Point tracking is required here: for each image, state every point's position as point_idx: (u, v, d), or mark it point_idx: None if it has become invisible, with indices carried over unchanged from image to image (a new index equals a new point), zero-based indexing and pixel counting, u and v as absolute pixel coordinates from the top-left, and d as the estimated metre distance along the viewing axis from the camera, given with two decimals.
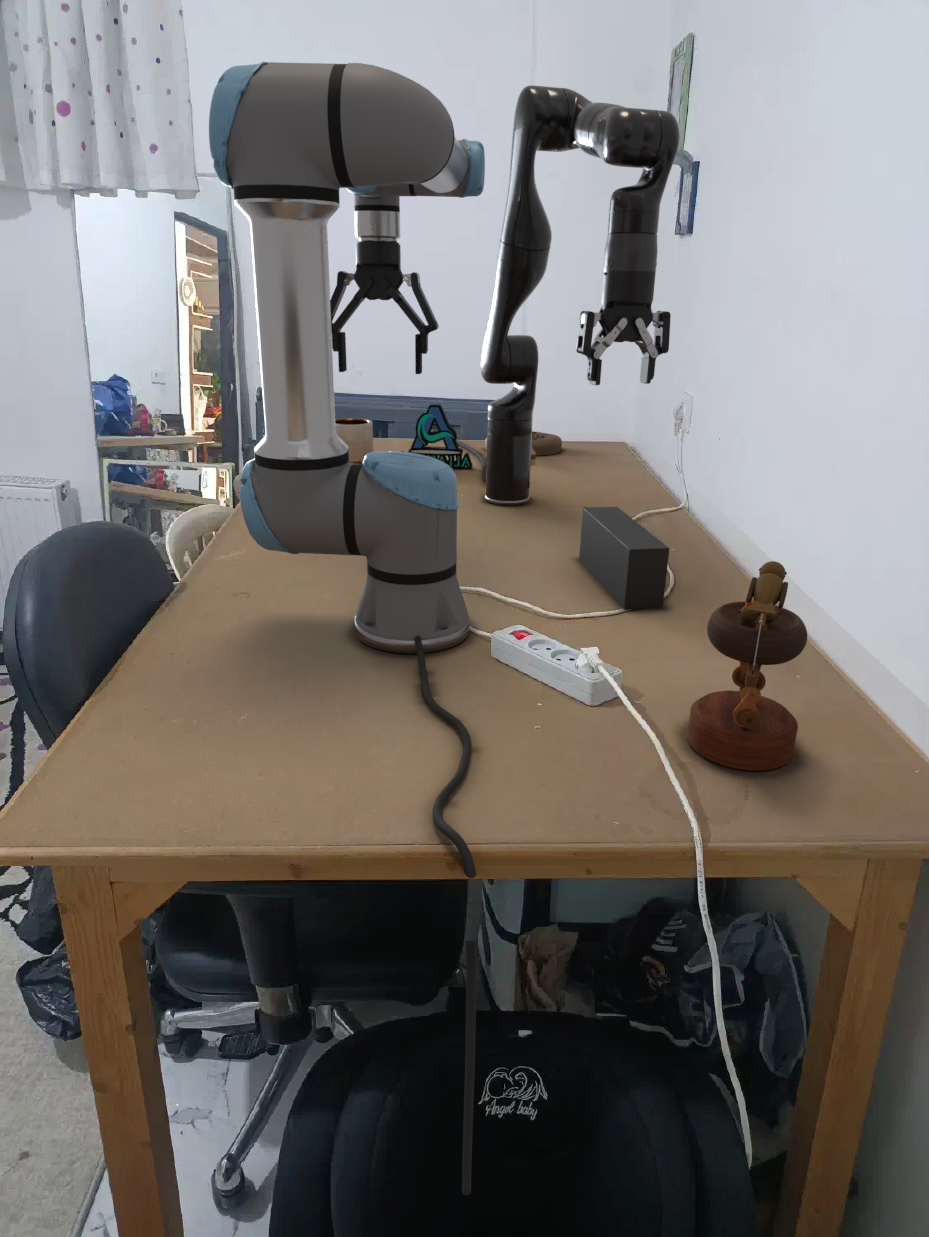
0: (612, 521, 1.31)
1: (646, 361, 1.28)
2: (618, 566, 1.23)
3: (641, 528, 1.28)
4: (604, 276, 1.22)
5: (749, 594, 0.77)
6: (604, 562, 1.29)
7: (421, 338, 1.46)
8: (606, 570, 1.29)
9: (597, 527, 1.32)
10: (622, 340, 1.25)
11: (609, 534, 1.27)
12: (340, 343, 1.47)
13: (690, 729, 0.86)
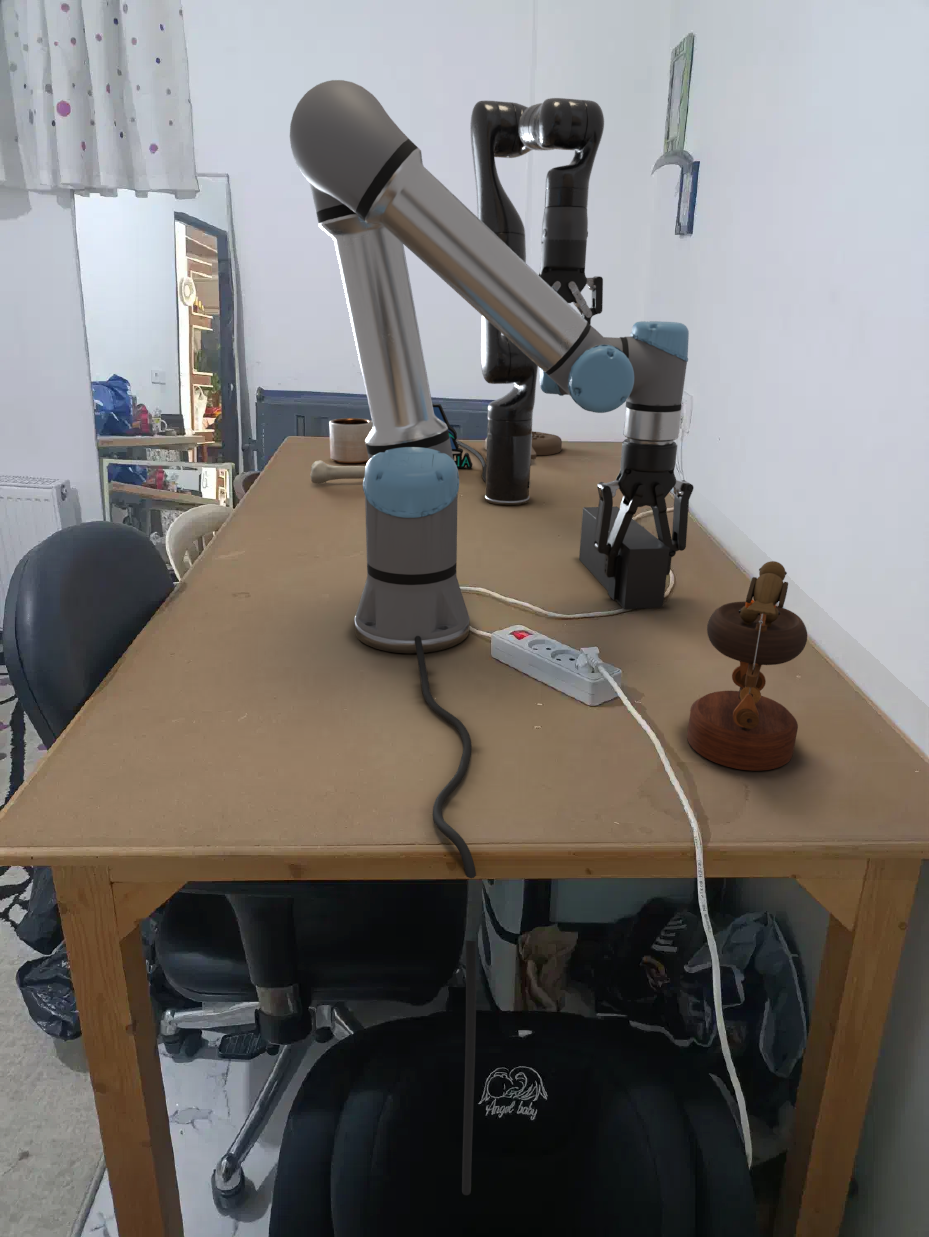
0: (613, 521, 1.31)
1: None
2: None
3: (641, 528, 1.28)
4: (541, 245, 1.41)
5: (749, 594, 0.77)
6: (604, 562, 1.29)
7: None
8: None
9: None
10: None
11: (609, 534, 1.27)
12: (619, 569, 1.22)
13: (690, 729, 0.86)
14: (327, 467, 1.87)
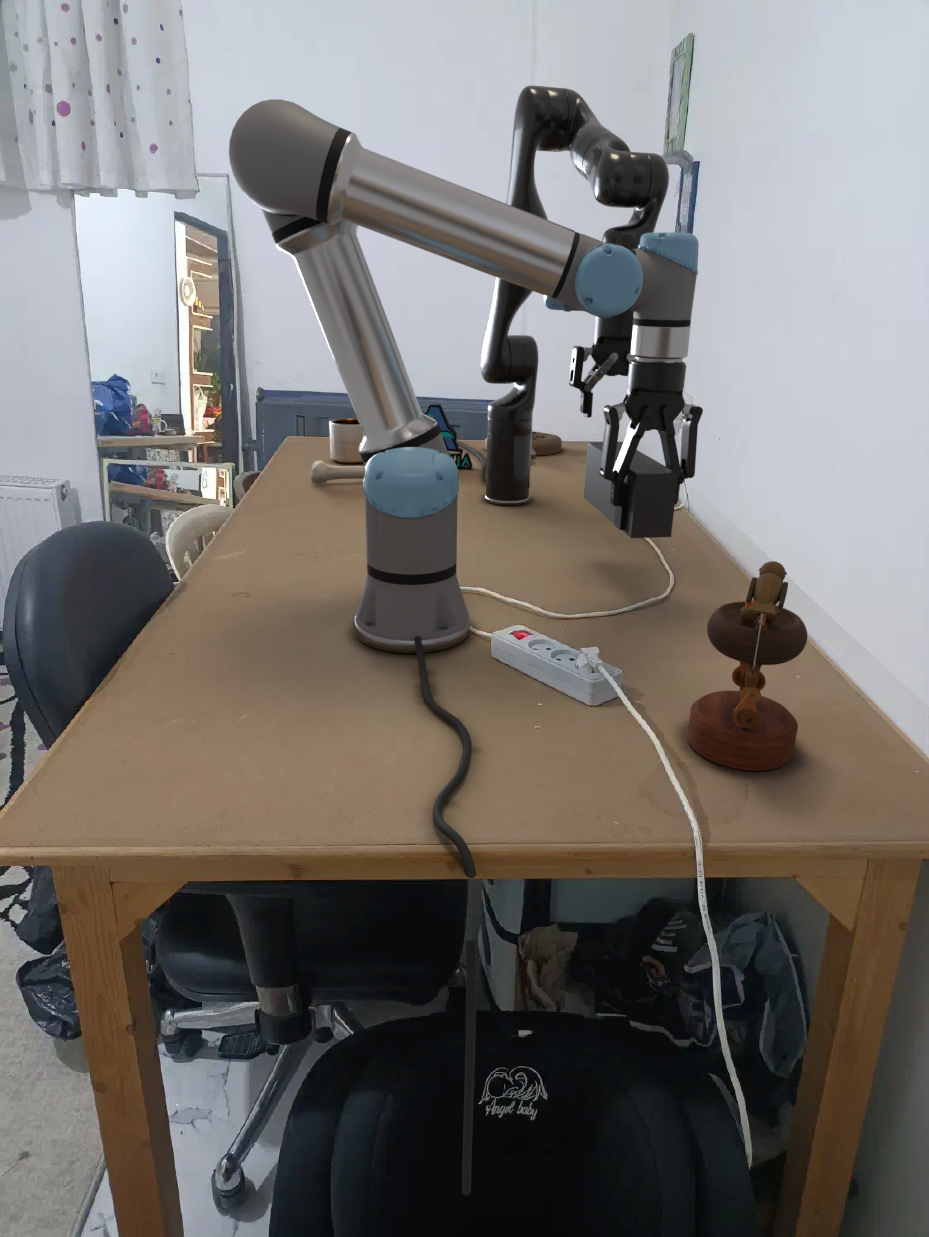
0: None
1: None
2: None
3: (648, 458, 1.24)
4: None
5: (749, 594, 0.77)
6: None
7: None
8: None
9: None
10: (614, 374, 1.27)
11: None
12: (626, 497, 1.18)
13: (690, 729, 0.86)
14: (327, 467, 1.87)
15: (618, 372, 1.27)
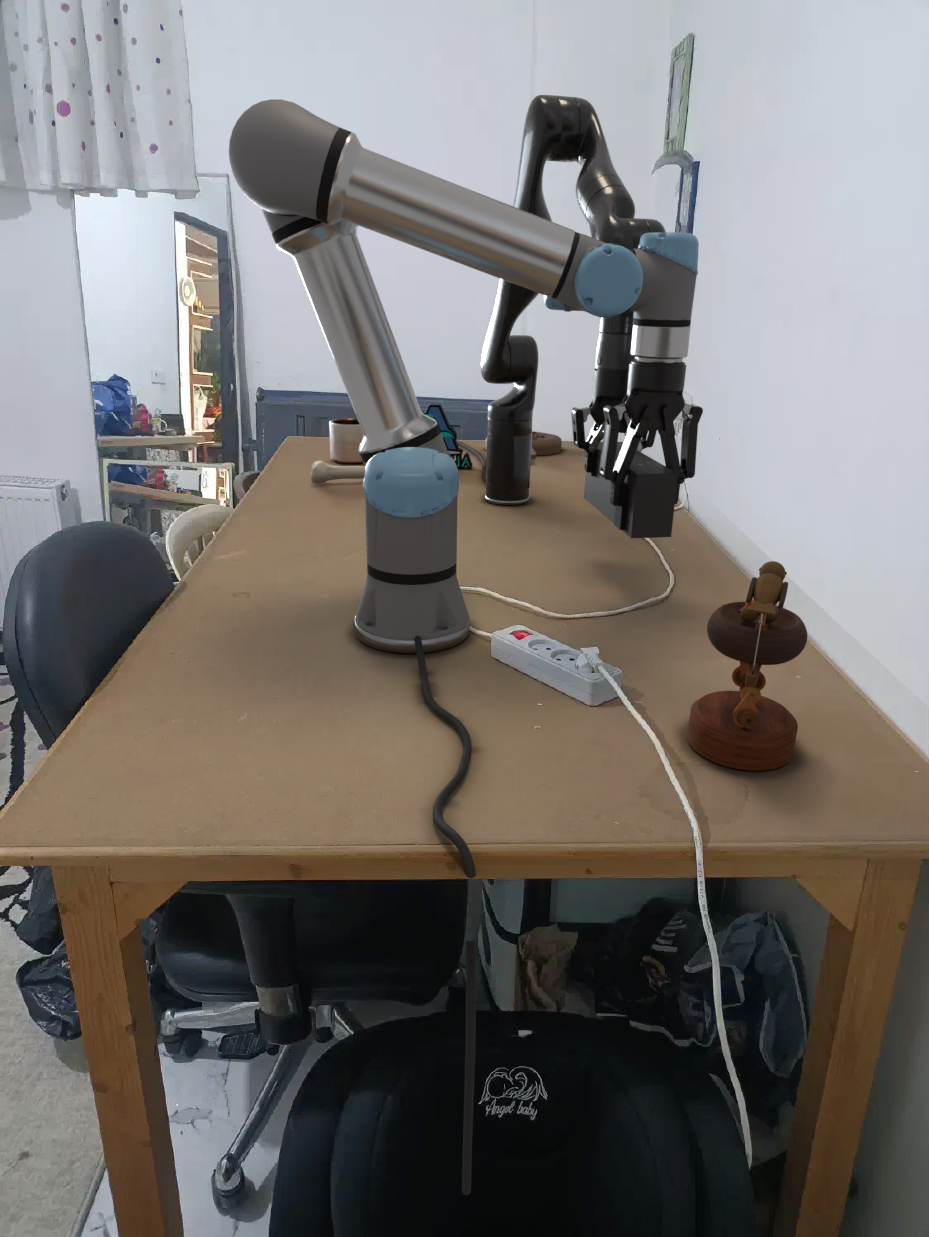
0: None
1: None
2: None
3: (648, 458, 1.24)
4: (594, 371, 1.27)
5: (749, 594, 0.77)
6: None
7: None
8: None
9: None
10: None
11: None
12: (626, 496, 1.18)
13: (690, 729, 0.86)
14: (327, 467, 1.87)
15: None
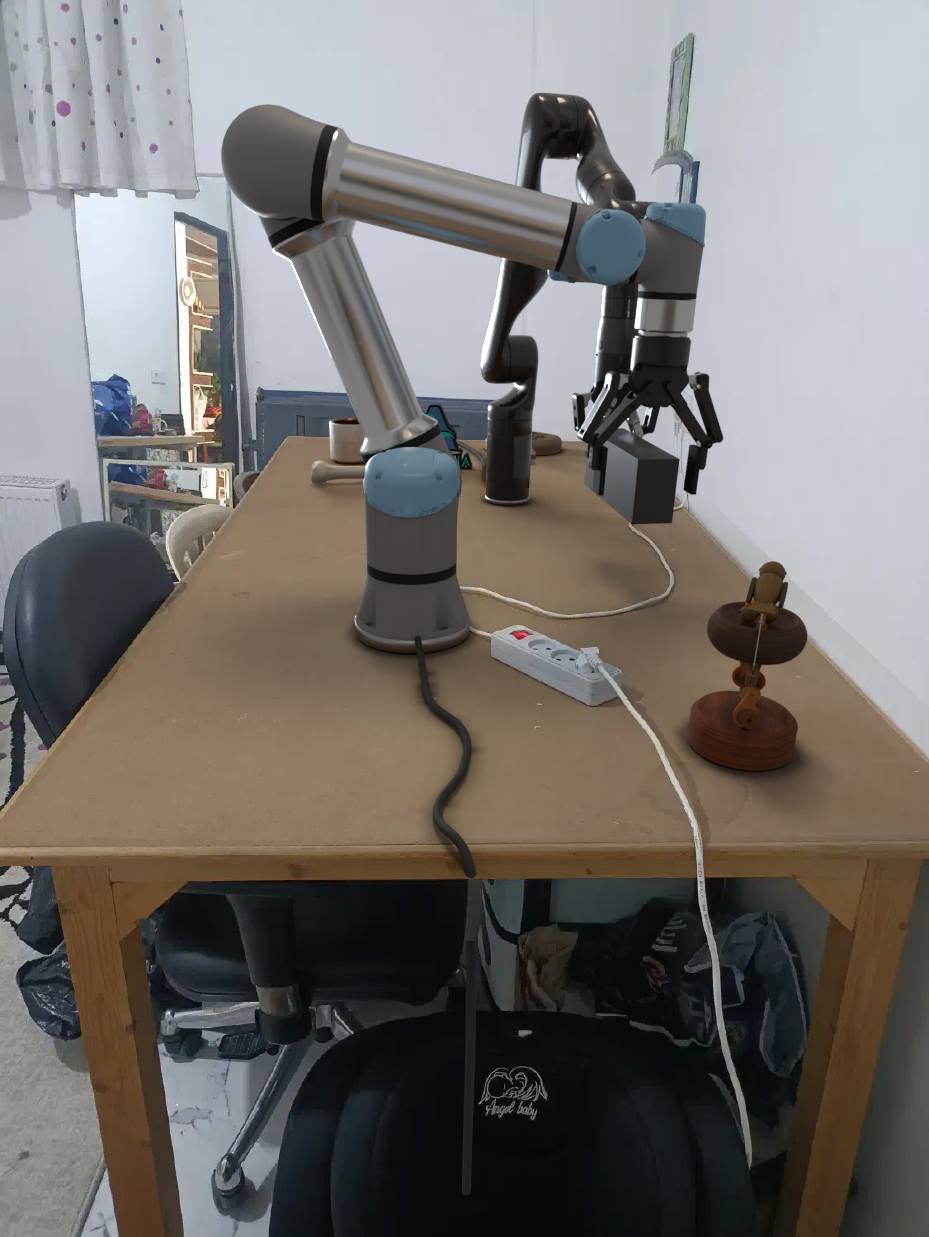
0: (620, 439, 1.27)
1: None
2: (626, 480, 1.19)
3: (649, 444, 1.23)
4: (596, 356, 1.27)
5: (749, 594, 0.77)
6: (611, 480, 1.25)
7: None
8: (612, 488, 1.24)
9: None
10: None
11: (616, 449, 1.22)
12: (604, 460, 1.15)
13: (690, 729, 0.86)
14: (327, 467, 1.87)
15: None
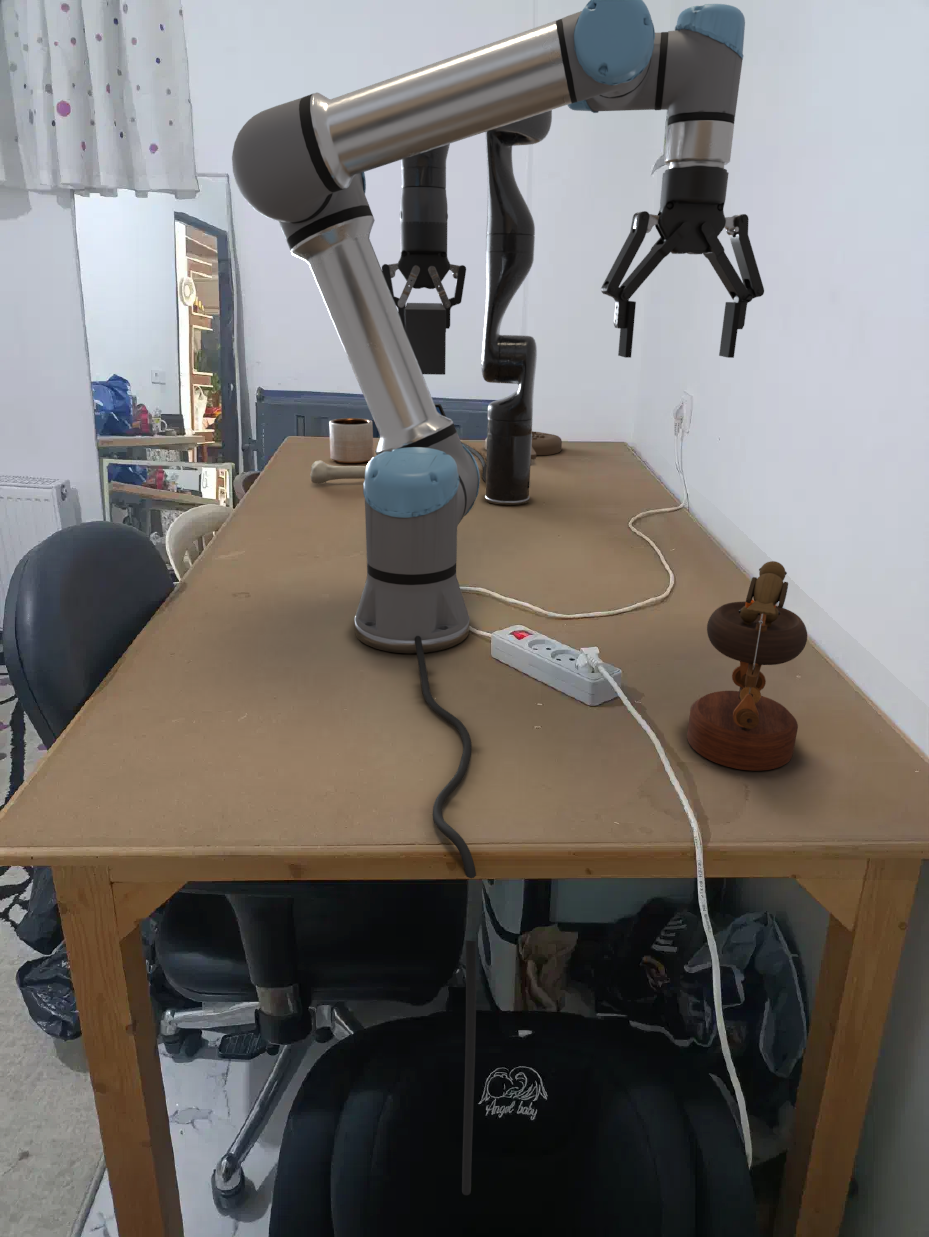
0: None
1: None
2: None
3: (440, 306, 1.31)
4: None
5: (749, 594, 0.77)
6: None
7: (739, 308, 1.05)
8: None
9: None
10: (419, 287, 1.37)
11: None
12: (632, 316, 1.03)
13: (690, 729, 0.86)
14: (327, 467, 1.87)
15: (423, 285, 1.37)
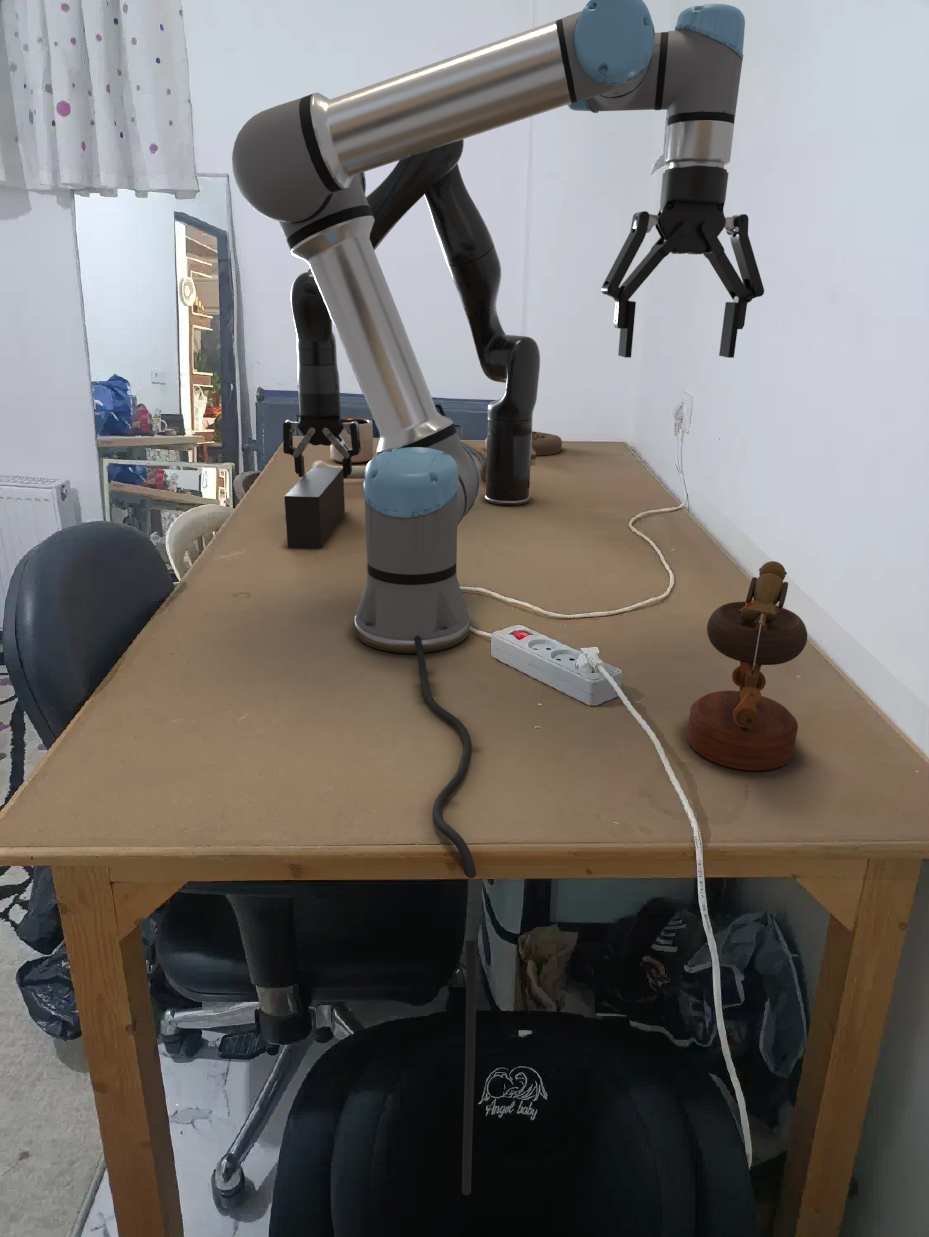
0: (314, 477, 1.56)
1: None
2: None
3: (327, 483, 1.52)
4: None
5: (749, 594, 0.77)
6: None
7: (739, 308, 1.05)
8: None
9: None
10: (317, 444, 1.58)
11: None
12: (632, 316, 1.03)
13: (690, 729, 0.86)
14: (327, 467, 1.87)
15: (320, 442, 1.57)
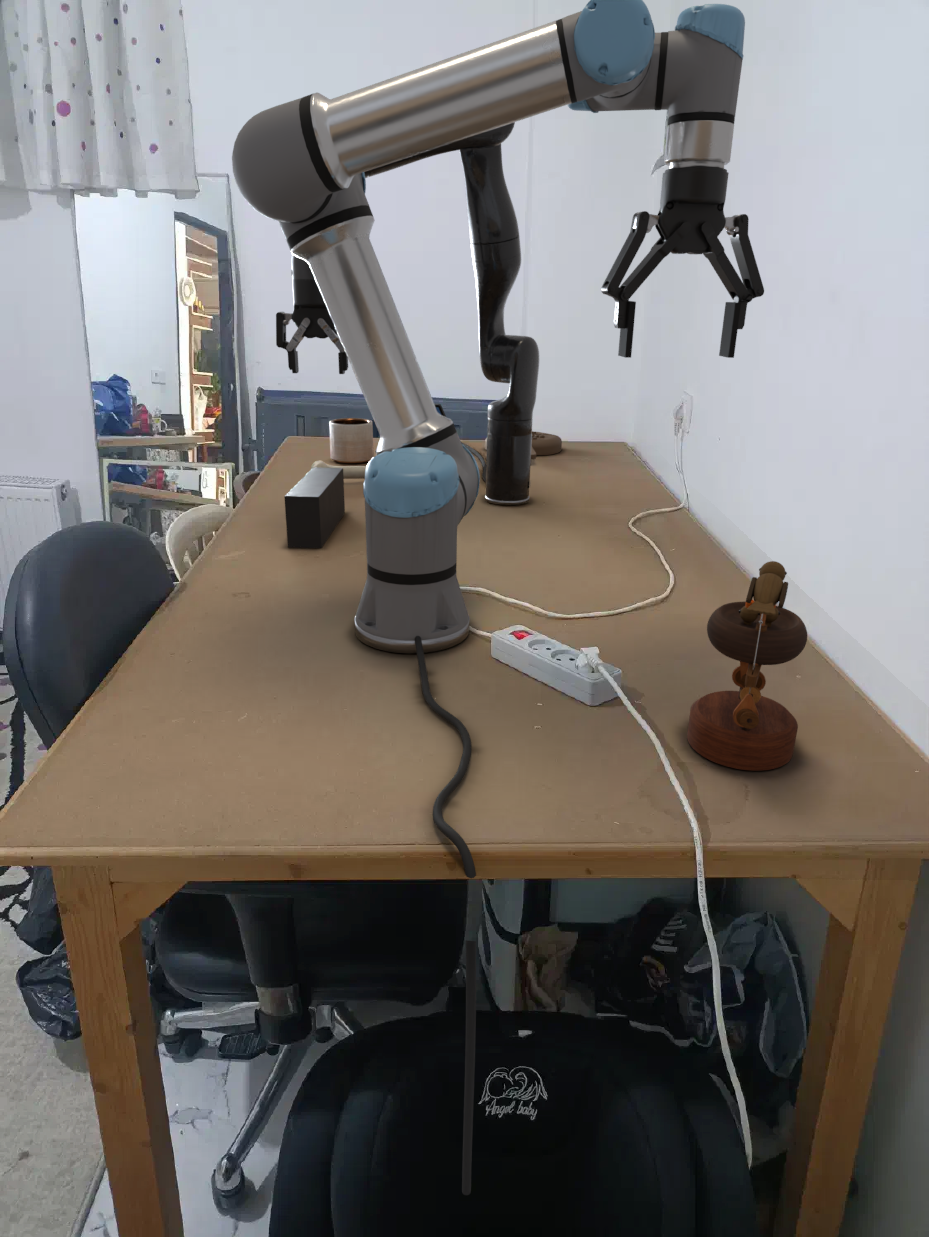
0: (314, 477, 1.56)
1: None
2: None
3: (327, 483, 1.52)
4: None
5: (749, 594, 0.77)
6: None
7: (739, 308, 1.05)
8: None
9: None
10: (311, 336, 1.50)
11: None
12: (632, 316, 1.03)
13: (690, 729, 0.86)
14: (327, 467, 1.87)
15: (314, 335, 1.50)
